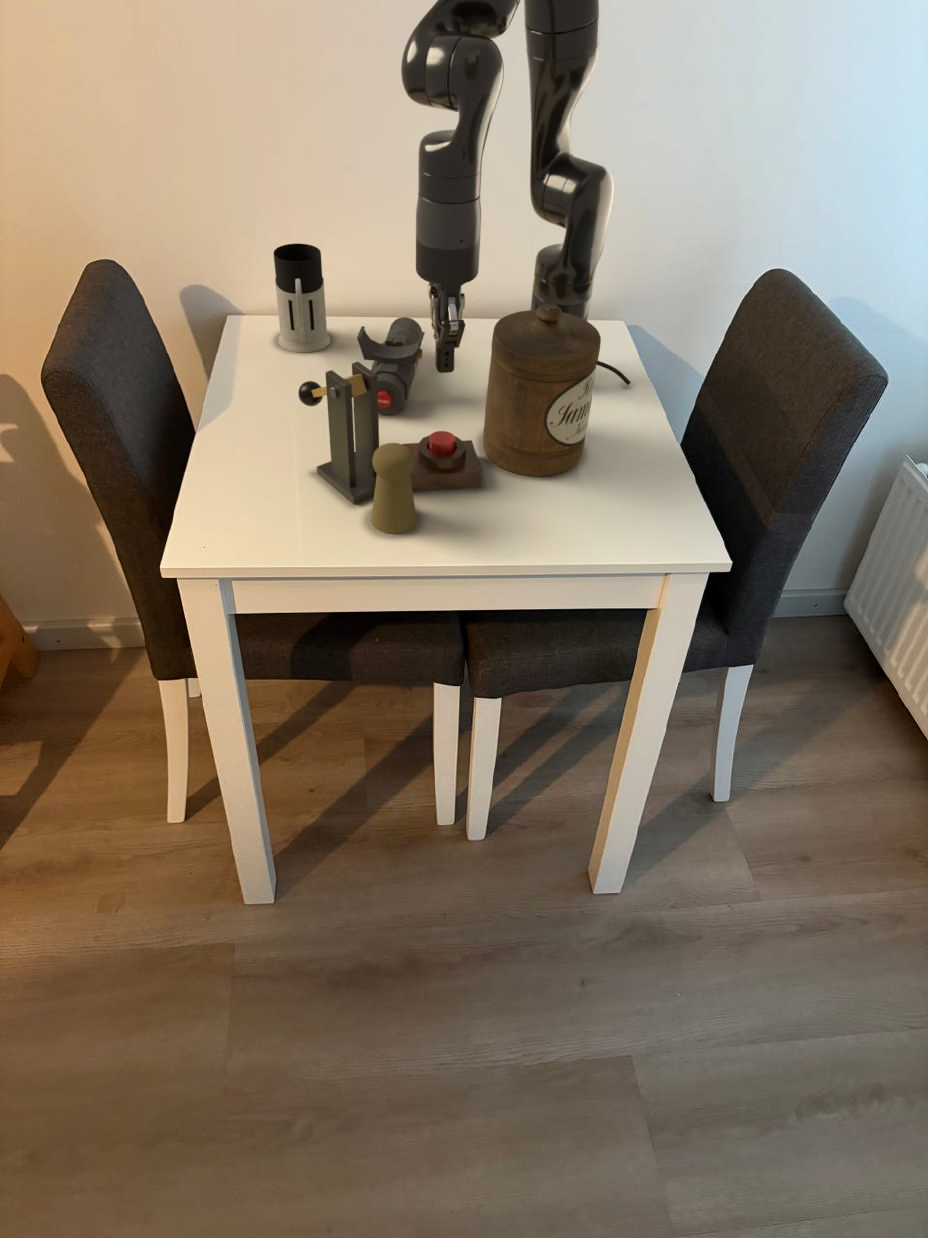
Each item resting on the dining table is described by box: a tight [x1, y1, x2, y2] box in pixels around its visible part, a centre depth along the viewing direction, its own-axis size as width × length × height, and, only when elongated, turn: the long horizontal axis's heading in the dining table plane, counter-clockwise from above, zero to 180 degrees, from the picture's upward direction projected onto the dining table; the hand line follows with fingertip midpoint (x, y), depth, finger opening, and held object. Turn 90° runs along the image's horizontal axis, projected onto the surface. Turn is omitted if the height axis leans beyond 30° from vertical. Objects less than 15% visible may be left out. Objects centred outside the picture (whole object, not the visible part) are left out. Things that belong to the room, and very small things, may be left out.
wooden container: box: [482, 303, 602, 477], centre depth 124 cm, size 15×15×22 cm
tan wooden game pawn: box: [370, 442, 418, 535], centre depth 114 cm, size 6×6×11 cm
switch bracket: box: [316, 361, 380, 505], centre depth 118 cm, size 9×7×16 cm
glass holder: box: [272, 243, 331, 353], centre depth 145 cm, size 9×14×15 cm, turn 8°
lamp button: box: [428, 430, 456, 455], centre depth 122 cm, size 4×4×2 cm
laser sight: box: [356, 316, 426, 416], centre depth 140 cm, size 10×22×10 cm, turn 174°
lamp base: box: [402, 434, 483, 492], centre depth 124 cm, size 10×8×4 cm
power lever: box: [297, 374, 367, 407], centre depth 118 cm, size 15×3×3 cm, turn 39°
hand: (444, 369), depth 115 cm, fingers closed
